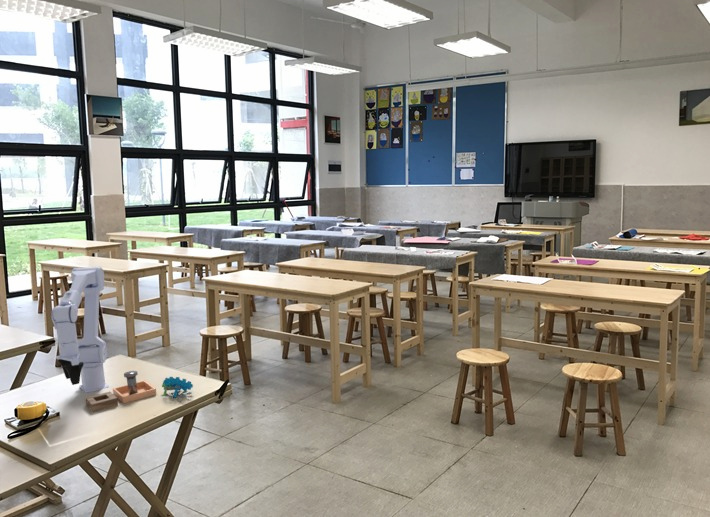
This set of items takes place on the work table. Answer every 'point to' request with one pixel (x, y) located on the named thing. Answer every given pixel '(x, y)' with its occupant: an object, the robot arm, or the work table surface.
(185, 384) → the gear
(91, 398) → the pin block
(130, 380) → the pin
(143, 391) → the tray
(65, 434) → the work table surface
